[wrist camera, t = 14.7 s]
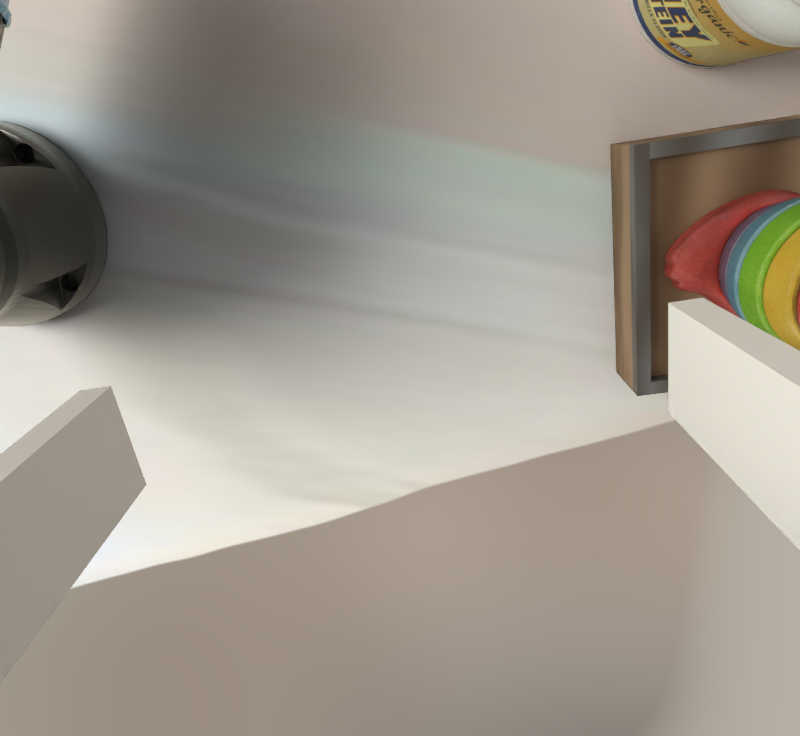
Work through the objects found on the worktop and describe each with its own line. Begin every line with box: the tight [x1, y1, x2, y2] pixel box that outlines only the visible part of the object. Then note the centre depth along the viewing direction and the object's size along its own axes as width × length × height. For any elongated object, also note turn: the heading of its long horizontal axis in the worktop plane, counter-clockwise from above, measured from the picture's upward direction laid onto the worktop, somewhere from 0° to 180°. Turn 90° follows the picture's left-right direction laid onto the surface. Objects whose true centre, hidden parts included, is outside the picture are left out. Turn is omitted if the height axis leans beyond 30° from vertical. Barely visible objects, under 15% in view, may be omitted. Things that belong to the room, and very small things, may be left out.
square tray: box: [611, 115, 800, 396], centre depth 44 cm, size 18×18×5 cm
